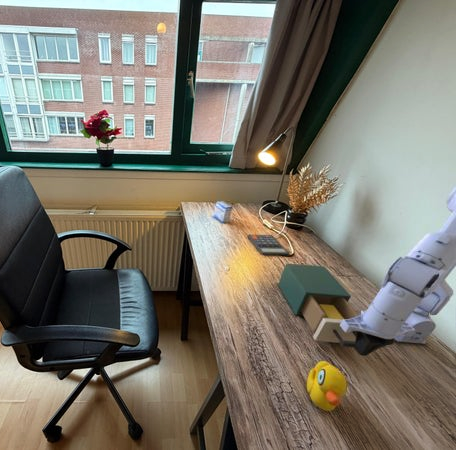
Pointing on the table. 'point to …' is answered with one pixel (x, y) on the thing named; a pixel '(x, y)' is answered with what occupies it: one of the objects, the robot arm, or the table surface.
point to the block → (330, 312)
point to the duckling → (326, 385)
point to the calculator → (268, 245)
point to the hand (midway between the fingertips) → (359, 351)
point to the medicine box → (223, 211)
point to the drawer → (329, 327)
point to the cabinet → (308, 284)
